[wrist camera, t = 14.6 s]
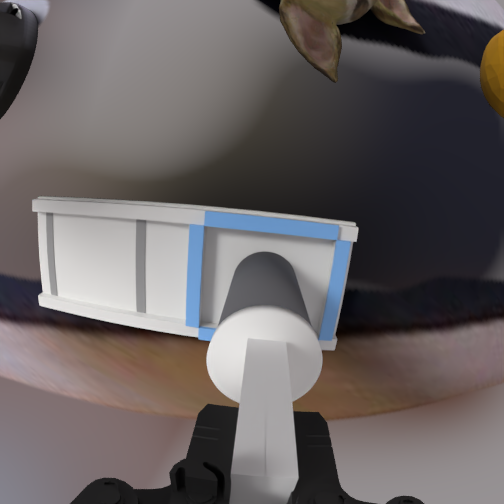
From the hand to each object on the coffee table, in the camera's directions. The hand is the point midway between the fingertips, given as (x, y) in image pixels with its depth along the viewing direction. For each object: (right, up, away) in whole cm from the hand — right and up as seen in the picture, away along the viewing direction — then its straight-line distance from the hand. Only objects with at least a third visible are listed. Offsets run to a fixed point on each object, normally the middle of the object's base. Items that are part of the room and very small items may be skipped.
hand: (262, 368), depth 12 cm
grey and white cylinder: (0, +3, +11) cm, 11 cm away
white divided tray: (-6, +3, +11) cm, 14 cm away
